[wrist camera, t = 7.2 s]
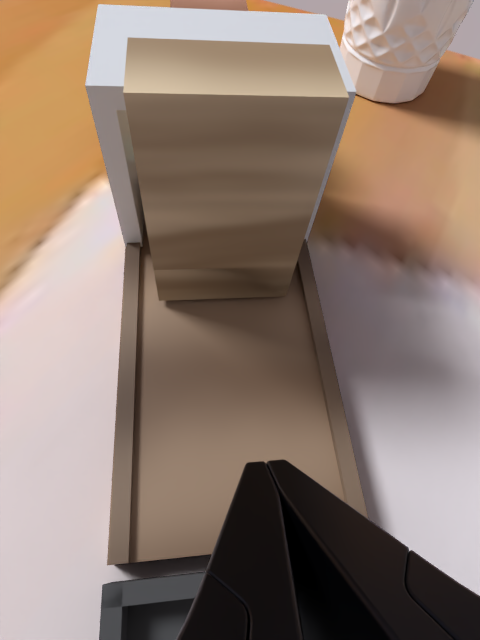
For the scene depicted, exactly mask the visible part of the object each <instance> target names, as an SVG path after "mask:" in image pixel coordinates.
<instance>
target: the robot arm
mask: <svg viewBox="0 0 480 640" xmlns="http://www.w3.org/2000/svg"><path fill="white" fill-rule="evenodd" d="M176 640H480V596H479V595H477V594H476V593H474V592H472V591H471V590H469V589H468V588H466V587H465V586H463V585H461V584H460V583H458V582H457V581H455V580H454V579H452V578H451V577H450V576H448V575H447V574H445V573H444V572H442V571H441V570H439V569H438V568H436V567H435V566H434V565H432V564H431V563H429V562H428V561H426V560H425V559H424V558H422V557H421V556H419V555H418V554H417V553H415V552H414V551H412V550H411V551H409V548H408V547H407V546H405V545H404V544H402V543H401V542H400V541H398V540H397V539H395V538H394V537H393V536H391V535H390V534H389V533H387V532H386V531H384V530H383V529H382V528H380V527H379V526H377V525H376V524H375V523H373V522H372V521H370V520H369V519H368V518H366V517H365V516H363V515H362V514H361V513H359V512H358V511H356V510H355V509H354V508H352V507H351V506H350V505H348V504H347V503H345V502H344V501H343V500H341V499H340V498H338V497H337V496H336V495H334V494H333V493H331V492H330V491H329V490H327V489H326V488H324V487H323V486H322V485H320V484H319V483H317V482H316V481H315V480H313V479H312V478H310V477H309V476H308V475H306V474H305V473H304V472H302V471H301V470H299V469H298V468H297V467H295V466H294V465H292V464H291V463H290V462H288V461H287V460H284V459H282V460H270V461H267V463H265V462H264V461H258V462H248V463H246V464H245V466H244V469H243V472H242V475H241V477H240V480H239V483H238V485H237V488H236V491H235V493H234V496H233V499H232V501H231V504H230V507H229V509H228V512H227V515H226V517H225V520H224V523H223V525H222V528H221V531H220V534H219V536H218V539H217V542H216V544H215V547H214V550H213V552H212V555H211V558H210V560H209V563H208V566H207V568H206V571H205V574H204V576H203V578H202V581H201V584H200V586H199V589H198V592H197V594H196V597H195V599H194V601H193V604H192V606H191V609H190V611H189V613H188V616H187V618H186V620H185V622H184V624H183V626H182V628H181V630H180V632H179V634H178V636H177V638H176Z"/></svg>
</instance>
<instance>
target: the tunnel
mask: <svg viewBox="0 0 480 640" xmlns="http://www.w3.org/2000/svg"><path fill="white" fill-rule="evenodd" d="M128 37H129V38H157V39H184V40H212V41H239V42H267V43H294V44H322V45H330V47H331V50H332V53H333V55H334V58H335V61H336V63H337V66H338V69H339V71H340V74H341V77H342V79H343V82H344V85H345V87H346V90H347V93H348V95H349V100H348V103H347V106H346V109H345V112H344V115H343V119H342V122H341V125H340V128H339V131H338V134H337V137H336V141H335V144H334V147H333V150H332V153H331V156H330V159H329V163H328V166H327V169H326V172H325V175H324V178H323V181H322V184H321V188H320V191H319V194H318V197H317V200H316V203H315V206H314V210H313V213H312V216H311V219H310V222H309V225H308V228H307V232H306V235H305V238H304V239H306V242H307V240H308V237H309V234H310V231H311V228H312V225H313V222H314V219H315V216H316V213H317V210H318V207H319V204H320V201H321V198H322V195H323V192H324V189H325V186H326V183H327V180H328V177H329V174H330V171H331V168H332V165H333V162H334V158H335V155H336V152H337V149H338V146H339V143H340V140H341V137H342V134H343V131H344V128H345V125H346V122H347V119H348V116H349V113H350V110H351V107H352V104H353V101H354V98H355V95H356V89H355V86H354V84H353V81H352V79H351V76H350V74H349V71H348V69H347V66H346V64H345V61H344V59H343V56H342V53H341V51H340V48H339V46H338V43H337V41H336V38H335V36H334V33H333V31H332V28H331V26H330V23H329V20H328V18H327V15H324V14H302V13H279V12H257V11H235V10H213V9H191V8H168V7H146V6H124V5H102V4H98V9H97V16H96V22H95V28H94V34H93V41H92V47H91V53H90V59H89V65H88V72H87V78H86V84H85V86H86V90H87V94H88V98H89V102H90V106H91V110H92V114H93V118H94V122H95V126H96V130H97V134H98V138H99V142H100V146H101V150H102V154H103V158H104V162H105V166H106V170H107V174H108V178H109V182H110V186H111V190H112V194H113V198H114V202H115V206H116V210H117V214H118V218H119V223H120V227H121V231H122V235H123V239H124V243H125V247H127V243H137V242H140V246H141V247H143V225H144V211H143V205H142V199H141V193H140V187H139V182H138V176H137V170H136V164H135V158H134V152H133V147H132V141H131V135H130V129H129V123H128V118H127V112H126V106H125V100H124V94H123V89H124V77H125V64H126V52H127V40H128Z"/></svg>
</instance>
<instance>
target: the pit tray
mask: <svg viewBox="0 0 480 640" xmlns="http://www.w3.org/2000/svg"><path fill="white" fill-rule="evenodd" d="M204 574H205V572H199V573H190V574H181V575H172V576H163V577H154V578H145V579H136V580H127V581H118V582H111V583H107V584H104V585H103V586H102V602H101V618H100V635H99V640H176V638H177V636H178V634H179V632H180V630H181V628H182V626H183V624H184V622H185V620H186V618H187V616H188V613H189V611H190V609H191V606H192V604H193V601H194V599H195V597H196V594H197V592H198V589H199V586H200V584H201V581H202V578H203V576H204Z"/></svg>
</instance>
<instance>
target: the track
mask: <svg viewBox="0 0 480 640" xmlns="http://www.w3.org/2000/svg"><path fill="white" fill-rule="evenodd" d="M282 459H284V460H287V461H288V462H290V463H291V464H292V465H294V466H295V467H297V468H298V469H299V470H301V471H302V472H304V473H305V474H306V475H308V476H309V477H310V478H312V479H313V480H315V481H316V482H317V483H319V484H320V485H322V486H323V487H324V488H326V489H327V490H329V491H330V492H331V493H333V494H334V495H336V496H337V497H338V498H340V499H341V500H343V501H344V502H345V503H347V504H348V505H350V506H351V507H352V508H354V509H355V510H356V511H358V512H359V513H361V514H362V515H363V516H365V517H366V518H368V515H367V510H366V506H365V501H364V497H363V493H362V488H361V484H360V479H359V475H358V470H357V466H356V461H355V457H354V452H353V448H352V443H351V439H350V434H349V430H348V425H347V421H346V417H345V412H344V408H343V403H342V399H341V394H340V390H339V385H338V381H337V376H336V372H335V367H334V363H333V358H332V354H331V349H330V345H329V340H328V336H327V332H326V327H325V323H324V318H323V314H322V309H321V305H320V300H319V296H318V291H317V287H316V282H315V278H314V273H313V269H312V264H311V260H310V256H309V251H308V247H307V242H306V239H304V241H303V244H302V247H301V250H300V254H299V257H298V260H297V263H296V266H295V269H294V272H293V276H292V279H291V282H290V285H289V288H288V291H287V294H286V296H281V297H252V298H224V299H196V300H168V301H159V298H158V292H157V286H156V281H155V275H154V269H153V263H152V257H151V252H150V246H149V240H148V234H147V228H146V222H145V217H144V225H143V247H141V246H140V242H137V243H127V247H126V249H125V266H124V283H123V300H122V318H121V335H120V352H119V370H118V387H117V404H116V421H115V439H114V456H113V473H112V490H111V508H110V525H109V542H108V560H107V565H115V564H124V563H134V562H143V561H153V560H162V559H171V558H181V557H190V556H199V555H209V554H212V552H213V550H214V547H215V544H216V542H217V539H218V536H219V534H220V531H221V528H222V525H223V523H224V520H225V517H226V515H227V512H228V509H229V507H230V504H231V501H232V499H233V496H234V493H235V491H236V488H237V485H238V483H239V480H240V477H241V475H242V472H243V469H244V466H245V464H246V463H248V462H258V461H264V462H265V463H267V461H270V460H282Z"/></svg>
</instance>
